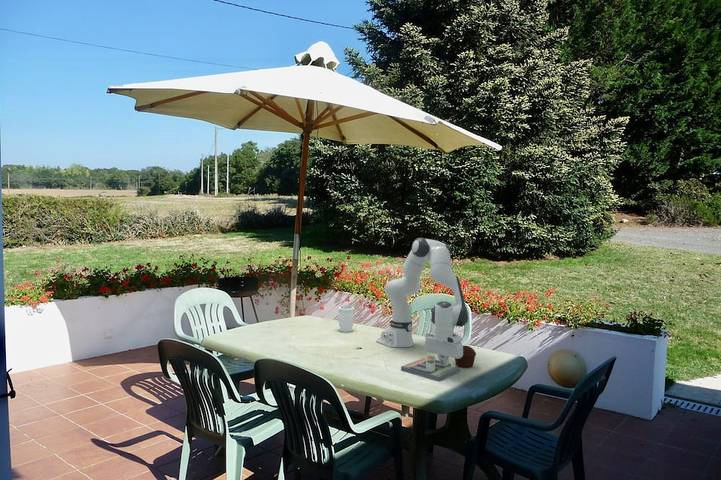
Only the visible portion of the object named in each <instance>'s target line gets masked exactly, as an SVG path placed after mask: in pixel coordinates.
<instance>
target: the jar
mask: <svg viewBox="0 0 721 480" xmlns="http://www.w3.org/2000/svg"><path fill="white" fill-rule="evenodd" d="M337 309H338V314H337V315H338V316H337V320H338V326H339V331H340V332H343V333H350V332H352V331H353V326H354V322H355V311H354V310H355V307H354V306H350V305H342V306H339V307H338V308H337Z"/></svg>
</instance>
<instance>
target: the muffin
mask: <svg viewBox="0 0 721 480" xmlns="http://www.w3.org/2000/svg"><path fill="white" fill-rule="evenodd" d="M476 355H477V352H476V351H475V349H474V348H473V347H471V346H468V345H463V356H462V357H461V358H459V359H457V358H454V363H455V367H459V368H460V369H472V368H473V367H474V364H475V363H474V362H475V359H476Z"/></svg>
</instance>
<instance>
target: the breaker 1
mask: <svg viewBox="0 0 721 480" xmlns="http://www.w3.org/2000/svg"><path fill="white" fill-rule="evenodd" d="M426 371H429V372H432V371H435V362H434V361H432V360H429V361H427V362H426Z"/></svg>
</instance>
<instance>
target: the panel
mask: <svg viewBox="0 0 721 480" xmlns="http://www.w3.org/2000/svg"><path fill="white" fill-rule="evenodd" d="M400 370H401V371H402V372H406V373H408V374H412V375H417V376H419V377H423V378H426V379H430V380H434V381H437V382H440V381H442V380H444V379H446V378H449V377H451V376H454V375H456V374H458V373H460V372H461V367H458V366H456V365H452V363H449V365H447V366H442V365H440V360H439V359H438V360H437V359H435V371H432V372H429V371H426V358H420V359H416V360H415V361H412V362H410V363H407V364H403V365H401V367H400Z"/></svg>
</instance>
